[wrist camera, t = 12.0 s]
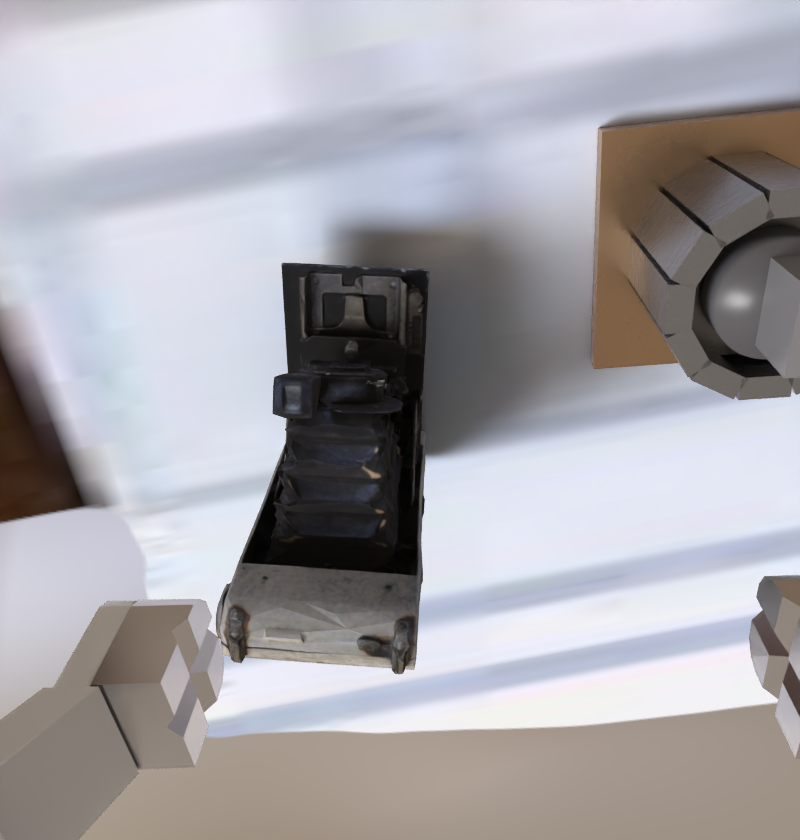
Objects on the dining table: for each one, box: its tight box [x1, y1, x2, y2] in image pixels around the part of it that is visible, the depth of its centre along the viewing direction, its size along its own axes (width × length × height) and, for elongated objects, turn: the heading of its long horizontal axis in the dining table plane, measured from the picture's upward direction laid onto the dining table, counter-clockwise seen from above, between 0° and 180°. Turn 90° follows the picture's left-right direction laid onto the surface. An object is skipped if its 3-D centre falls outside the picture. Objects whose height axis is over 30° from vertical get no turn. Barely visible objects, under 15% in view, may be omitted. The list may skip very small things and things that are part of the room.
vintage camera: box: [216, 263, 429, 674], centre depth 38 cm, size 10×15×20 cm, turn 178°
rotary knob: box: [701, 226, 800, 378], centre depth 33 cm, size 6×6×6 cm
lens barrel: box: [591, 107, 800, 400], centre depth 37 cm, size 14×14×9 cm
